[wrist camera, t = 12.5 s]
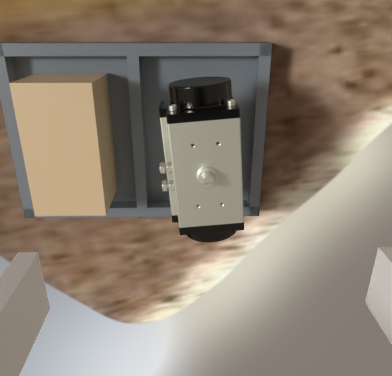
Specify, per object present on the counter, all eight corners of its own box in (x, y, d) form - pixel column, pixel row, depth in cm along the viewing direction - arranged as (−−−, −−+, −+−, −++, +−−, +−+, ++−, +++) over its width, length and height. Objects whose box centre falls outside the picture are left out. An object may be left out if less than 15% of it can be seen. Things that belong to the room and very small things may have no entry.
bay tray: (1, 42, 32) (-42, 46, 26) (266, 41, 33) (284, 46, 27) (33, 207, 39) (5, 241, 33) (255, 205, 39) (267, 239, 33)
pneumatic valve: (223, 66, 33) (241, 87, 22) (229, 187, 38) (247, 255, 27) (160, 71, 33) (147, 96, 22) (174, 192, 38) (169, 261, 27)
